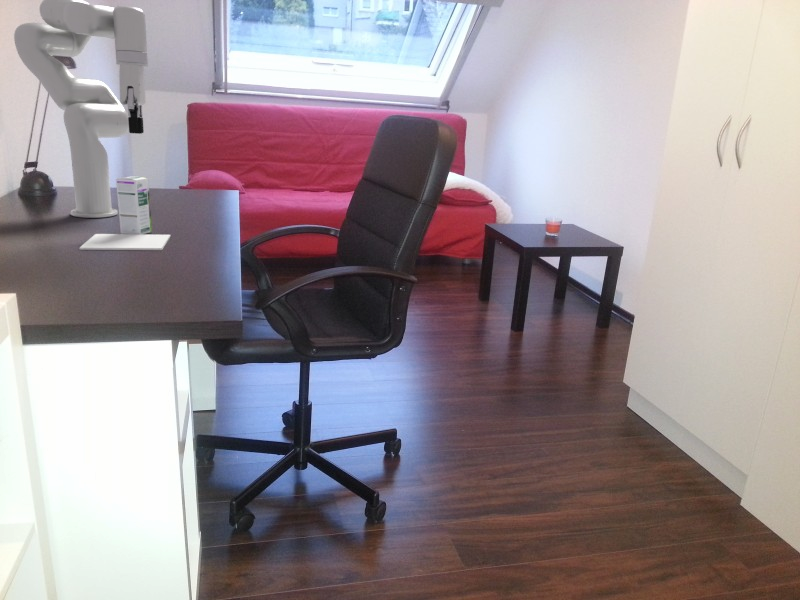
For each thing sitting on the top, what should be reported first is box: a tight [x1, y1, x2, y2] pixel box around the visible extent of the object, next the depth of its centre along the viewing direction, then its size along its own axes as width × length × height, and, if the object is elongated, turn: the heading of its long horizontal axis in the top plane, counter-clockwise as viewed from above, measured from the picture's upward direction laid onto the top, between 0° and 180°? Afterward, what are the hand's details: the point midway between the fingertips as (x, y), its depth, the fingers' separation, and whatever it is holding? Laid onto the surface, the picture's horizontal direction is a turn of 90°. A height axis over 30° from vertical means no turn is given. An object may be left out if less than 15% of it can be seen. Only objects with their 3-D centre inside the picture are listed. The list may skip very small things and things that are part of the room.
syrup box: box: [115, 175, 153, 234], centre depth 167 cm, size 6×6×14 cm
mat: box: [78, 233, 171, 251], centre depth 158 cm, size 16×18×1 cm
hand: (136, 132), depth 171 cm, fingers closed
